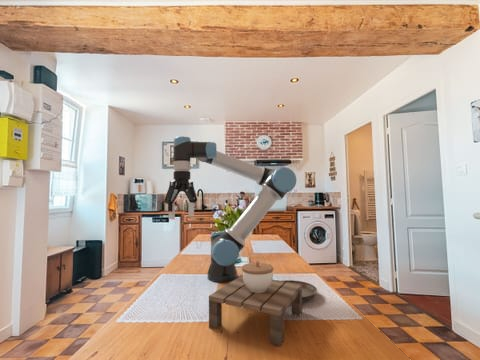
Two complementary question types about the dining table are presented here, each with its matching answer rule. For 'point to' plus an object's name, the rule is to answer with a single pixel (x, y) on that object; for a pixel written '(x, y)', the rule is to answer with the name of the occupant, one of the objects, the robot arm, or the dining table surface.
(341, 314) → the dining table surface
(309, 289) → the plant saucer
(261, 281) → the lidded jar
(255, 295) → the walnut rack
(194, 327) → the dining table surface
